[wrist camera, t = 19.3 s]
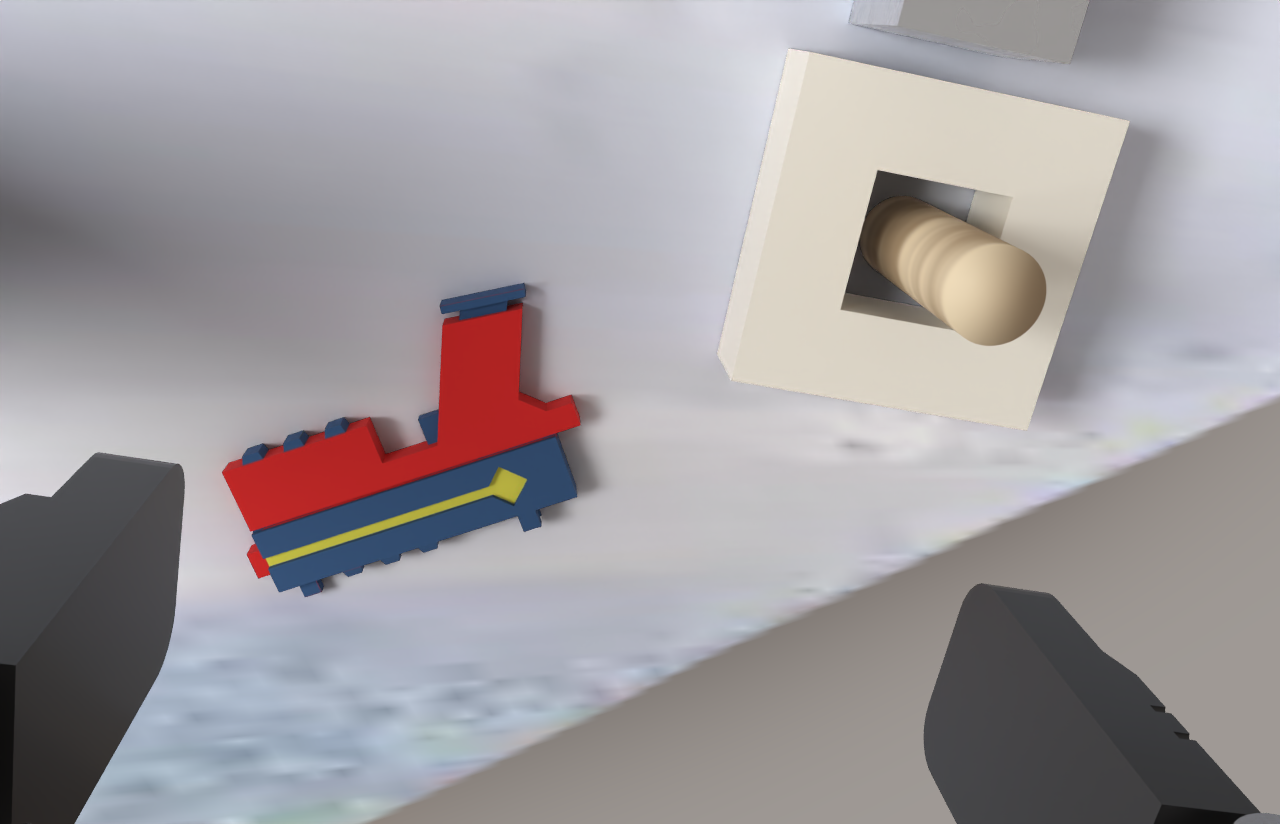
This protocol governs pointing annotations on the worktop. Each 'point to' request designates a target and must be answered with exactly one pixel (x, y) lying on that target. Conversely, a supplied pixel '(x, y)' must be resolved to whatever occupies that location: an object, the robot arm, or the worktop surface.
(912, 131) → the socket block
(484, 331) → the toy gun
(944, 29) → the pin mount
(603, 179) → the worktop surface
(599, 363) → the worktop surface
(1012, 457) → the worktop surface
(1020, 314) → the dowel
